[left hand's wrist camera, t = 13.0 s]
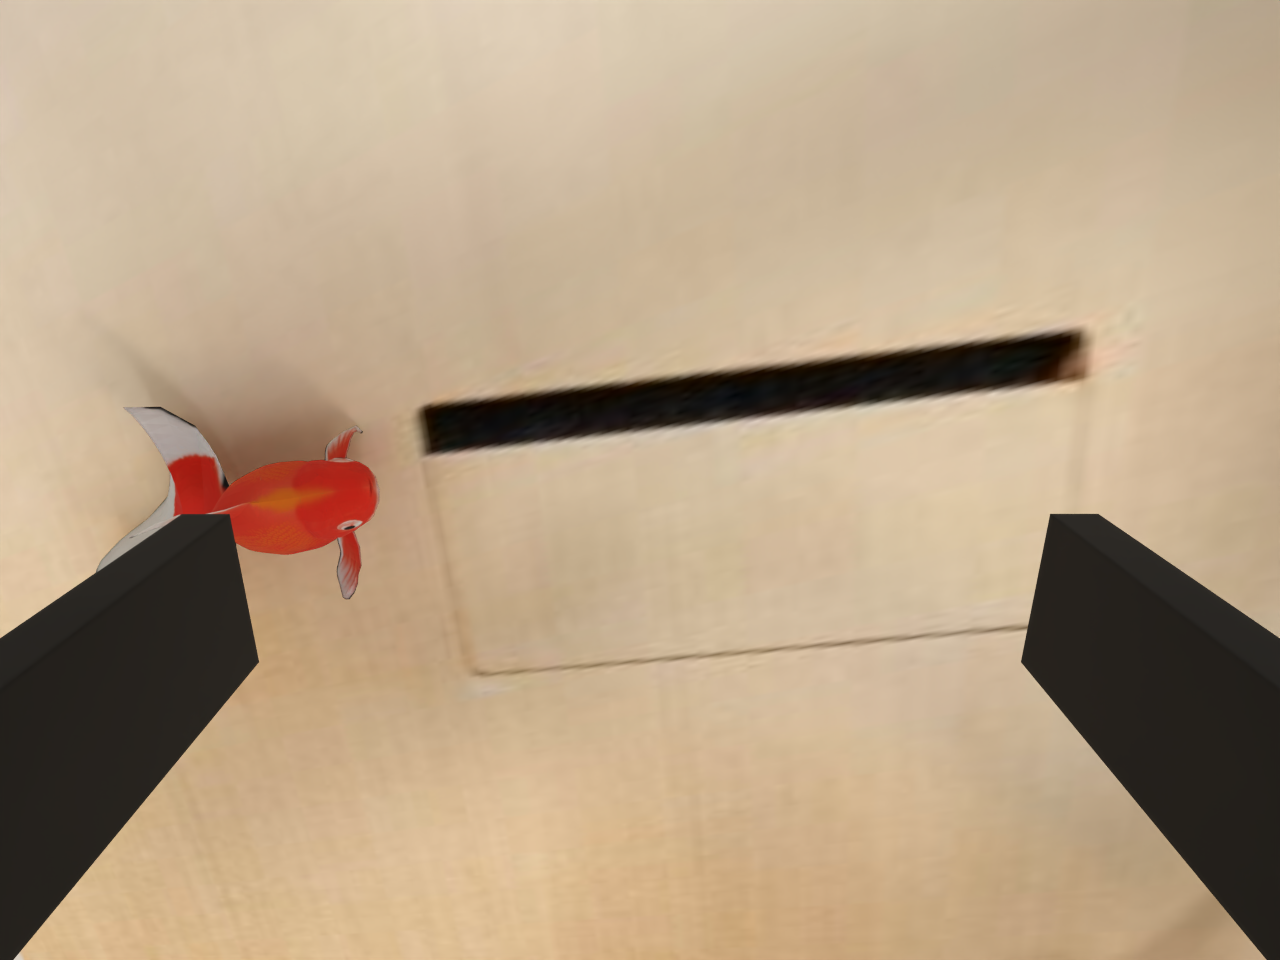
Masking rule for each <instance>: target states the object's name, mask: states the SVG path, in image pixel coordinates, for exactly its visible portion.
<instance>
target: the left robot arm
mask: <svg viewBox="0 0 1280 960" xmlns="http://www.w3.org/2000/svg"><path fill="white" fill-rule="evenodd" d="M258 663H259V660H258V655H257V650H256V645H255V640H254V635H253V629H252V624H251V619H250V614H249V609H248V604H247V599H246V594H245V589H244V584H243V579H242V574H241V569H240V564H239V559H238V554H237V549H236V543H235V538H234V533H233V528H232V523H231V518H230V514H181V515H180V516H178V517H177V518H175V519H174V520H172V521H171V522H169V523H168V524H167V525H165V526H164V527H162V528H161V529H159V530H158V531H156V532H155V533H153V534H152V535H150V536H149V537H148V538H146V539H145V540H143V541H142V542H140V543H139V544H137V545H136V546H134V547H133V548H131V549H130V550H129V551H127V552H126V553H124V554H123V555H121V556H120V557H118V558H117V559H115V560H114V561H113V562H111V563H110V564H108V565H107V566H105V567H104V568H102V569H101V570H99V571H98V572H96V573H95V574H94V575H92V576H91V577H89V578H88V579H86V580H85V581H83V582H82V583H80V584H79V585H77V586H76V587H75V588H73V589H72V590H70V591H69V592H67V593H66V594H64V595H63V596H61V597H60V598H59V599H57V600H56V601H54V602H53V603H51V604H50V605H48V606H47V607H45V608H44V609H42V610H41V611H40V612H38V613H37V614H35V615H34V616H32V617H31V618H29V619H28V620H26V621H25V622H23V623H22V624H21V625H19V626H18V627H16V628H15V629H13V630H12V631H10V632H9V633H7V634H6V635H4V636H3V637H2V638H0V960H14V958H15V957H16V956H17V955H18V953H19V952H20V951H21V950H22V949H23V947H24V946H25V945H26V944H27V943H28V941H29V940H30V939H31V938H32V937H33V935H34V934H35V933H36V932H37V930H38V929H39V928H40V927H41V926H42V924H43V923H44V922H45V921H46V920H47V918H48V917H49V916H50V915H51V913H52V912H53V911H54V910H55V909H56V907H57V906H58V905H59V904H60V903H61V901H62V900H63V899H64V898H65V897H66V895H67V894H68V893H69V892H70V890H71V889H72V888H73V887H74V886H75V884H76V883H77V882H78V881H79V880H80V878H81V877H82V876H83V875H84V873H85V872H86V871H87V870H88V869H89V867H90V866H91V865H92V864H93V863H94V861H95V860H96V859H97V858H98V857H99V855H100V854H101V853H102V852H103V850H104V849H105V848H106V847H107V846H108V844H109V843H110V842H111V841H112V840H113V838H114V837H115V836H116V835H117V833H118V832H119V831H120V830H121V829H122V827H123V826H124V825H125V824H126V823H127V821H128V820H129V819H130V818H131V817H132V815H133V814H134V813H135V812H136V810H137V809H138V808H139V807H140V806H141V804H142V803H143V802H144V801H145V800H146V798H147V797H148V796H149V795H150V793H151V792H152V791H153V790H154V789H155V787H156V786H157V785H158V784H159V783H160V781H161V780H162V779H163V778H164V777H165V775H166V774H167V773H168V772H169V770H170V769H171V768H172V767H173V766H174V764H175V763H176V762H177V761H178V760H179V758H180V757H181V756H182V755H183V753H184V752H185V751H186V750H187V749H188V747H189V746H190V745H191V744H192V743H193V741H194V740H195V739H196V738H197V737H198V735H199V734H200V733H201V732H202V730H203V729H204V728H205V727H206V726H207V724H208V723H209V722H210V721H211V720H212V718H213V717H214V716H215V715H216V713H217V712H218V711H219V710H220V709H221V707H222V706H223V705H224V704H225V703H226V701H227V700H228V699H229V698H230V696H231V695H232V694H233V693H234V692H235V690H236V689H237V688H238V687H239V686H240V684H241V683H242V682H243V681H244V680H245V678H246V677H247V676H248V675H249V673H250V672H251V671H252V670H253V669H254V667H255V666H256V665H257V664H258ZM1021 663H1022V664H1023V665H1024V666H1025V667H1026V669H1027V670H1028V671H1029V672H1030V673H1031V675H1032V676H1033V677H1034V678H1035V680H1036V681H1037V682H1038V683H1039V684H1040V686H1041V687H1042V688H1043V689H1044V690H1045V692H1046V693H1047V694H1048V695H1049V697H1050V698H1051V699H1052V700H1053V701H1054V703H1055V704H1056V705H1057V706H1058V707H1059V709H1060V710H1061V711H1062V712H1063V713H1064V715H1065V716H1066V717H1067V718H1068V720H1069V721H1070V722H1071V723H1072V724H1073V726H1074V727H1075V728H1076V729H1077V730H1078V732H1079V733H1080V734H1081V735H1082V737H1083V738H1084V739H1085V740H1086V741H1087V743H1088V744H1089V745H1090V746H1091V747H1092V749H1093V750H1094V751H1095V752H1096V753H1097V755H1098V756H1099V757H1100V758H1101V760H1102V761H1103V762H1104V763H1105V764H1106V766H1107V767H1108V768H1109V769H1110V770H1111V772H1112V773H1113V774H1114V775H1115V777H1116V778H1117V779H1118V780H1119V781H1120V783H1121V784H1122V785H1123V786H1124V787H1125V789H1126V790H1127V791H1128V792H1129V793H1130V795H1131V796H1132V797H1133V798H1134V800H1135V801H1136V802H1137V803H1138V804H1139V806H1140V807H1141V808H1142V809H1143V810H1144V812H1145V813H1146V814H1147V815H1148V817H1149V818H1150V819H1151V820H1152V821H1153V823H1154V824H1155V825H1156V826H1157V827H1158V829H1159V830H1160V831H1161V832H1162V833H1163V835H1164V836H1165V837H1166V838H1167V840H1168V841H1169V842H1170V843H1171V844H1172V846H1173V847H1174V848H1175V849H1176V850H1177V852H1178V853H1179V854H1180V855H1181V857H1182V858H1183V859H1184V860H1185V861H1186V863H1187V864H1188V865H1189V866H1190V867H1191V869H1192V870H1193V871H1194V872H1195V873H1196V875H1197V876H1198V877H1199V878H1200V880H1201V881H1202V882H1203V883H1204V884H1205V886H1206V887H1207V888H1208V889H1209V890H1210V892H1211V893H1212V894H1213V895H1214V897H1215V898H1216V899H1217V900H1218V901H1219V903H1220V904H1221V905H1222V906H1223V907H1224V909H1225V910H1226V911H1227V912H1228V913H1229V915H1230V916H1231V917H1232V918H1233V920H1234V921H1235V922H1236V923H1237V924H1238V926H1239V927H1240V928H1241V929H1242V930H1243V932H1244V933H1245V934H1246V935H1247V937H1248V938H1249V939H1250V940H1251V941H1252V943H1253V944H1254V945H1255V946H1256V947H1257V949H1258V950H1259V951H1260V952H1261V953H1262V955H1263V956H1264V957H1265V958H1266V960H1280V638H1278V637H1277V636H1275V635H1274V634H1273V633H1271V632H1270V631H1268V630H1267V629H1265V628H1264V627H1262V626H1261V625H1259V624H1258V623H1257V622H1255V621H1254V620H1252V619H1251V618H1249V617H1248V616H1246V615H1245V614H1243V613H1242V612H1240V611H1239V610H1238V609H1236V608H1235V607H1233V606H1232V605H1230V604H1229V603H1227V602H1226V601H1224V600H1223V599H1221V598H1220V597H1219V596H1217V595H1216V594H1214V593H1213V592H1211V591H1210V590H1208V589H1207V588H1205V587H1204V586H1203V585H1201V584H1200V583H1198V582H1197V581H1195V580H1194V579H1192V578H1191V577H1189V576H1188V575H1186V574H1185V573H1184V572H1182V571H1181V570H1179V569H1178V568H1176V567H1175V566H1173V565H1172V564H1170V563H1169V562H1167V561H1166V560H1165V559H1163V558H1162V557H1160V556H1159V555H1157V554H1156V553H1154V552H1153V551H1151V550H1150V549H1149V548H1147V547H1146V546H1144V545H1143V544H1141V543H1140V542H1138V541H1137V540H1135V539H1134V538H1132V537H1131V536H1130V535H1128V534H1127V533H1125V532H1124V531H1122V530H1121V529H1119V528H1118V527H1116V526H1115V525H1113V524H1112V523H1111V522H1109V521H1108V520H1106V519H1105V518H1103V517H1102V516H1100V515H1099V514H1050V518H1049V523H1048V528H1047V533H1046V538H1045V543H1044V549H1043V554H1042V559H1041V564H1040V569H1039V574H1038V579H1037V584H1036V589H1035V594H1034V599H1033V604H1032V609H1031V614H1030V619H1029V624H1028V629H1027V635H1026V640H1025V645H1024V650H1023V655H1022V660H1021Z"/></svg>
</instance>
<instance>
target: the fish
mask: <svg viewBox="0 0 1280 960" xmlns="http://www.w3.org/2000/svg"><path fill="white" fill-rule="evenodd" d="M123 408H124V409H125V410H127V411H128V412H129V413H130V414H131V415H132V416H133V417H134V418H135V419H136V420H137V421H138V422H139V424H140V425H141V426H142V427H143V429H144V430H145V431H146V432H147V434H148V435H149V437H150V438H151V439H152V441H153V442H154V444H155V445H156V447H157V448H158V450H159V452H160V453H161V455H162V457H163V459H164V461H165V462H166V464H167V467H168V469H169V471H170V487H169V493H168V497H167V498H166V499H165V500H164V501H163V503H162V504H161V505H160V506H159V507H158V508H157V509H156V510H155V511H154V513H153V514H152V515H151V516H150V517H149V518H148V519H147V520H145V521H144V522H143V523H141V524H140V525H139V526H137V527H136V528H135V529H133V530H132V531H131V532H130V533H128V534H127V535H126V536H125V537H124V538H122V539H121V540H120V541H119V542H118V543H117V544H116V545H115V546H114V547H113V548H112V549H111V550H110V551H109V552H108V554H107V555H106V556H105V557H104V558H103V559H102V560H101V562H100V564H99V566H98V568H97V570H96V572H98V571H99V570H101V569H102V568H104V567H105V566H107V565H108V564H110V563H111V562H113V561H114V560H115V559H117V558H118V557H120V556H121V555H123V554H124V553H126V552H127V551H129V550H130V549H131V548H133V547H134V546H136V545H137V544H139V543H140V542H142V541H143V540H145V539H146V538H148V537H149V536H150V535H152V534H153V533H155V532H156V531H158V530H159V529H161V528H162V527H164V526H165V525H167V524H168V523H169V522H171V521H172V520H174V519H175V518H177V517H178V516H180V515H181V514H230V518H231V523H232V528H233V533H234V538H235V543H237V544H239V545H241V546H243V547H245V548H247V549H249V550H253V551H257V552H264V553H273V554H285V555H288V554H295V553H299V552H303V551H308V550H312V549H316V548H320V547H323V546H325V545H327V544H328V543H330V542H332V541H333V540H335V539H338V544H339V547H340V551H341V552H340V558H339V562H338V566H337V577H338V580H339V584H340V588H341V591H342V595H343V598H345V599H350V598H351V596H352V595H353V594H354V592H355V590H356V587H357V584H358V574H359V571H360V568H361V555H360V546H359V544H358V541H357V538H356V535H355V533H354V531H355V530H356V529H357V528H359V527H360V526H362V525H363V524H365V523H366V522H368V521H369V520H370V519H371V518H372V517H373V516H374V513H375V511H376V508H377V506H378V503H379V493H380V489H379V486H378V483H377V479H376V477H375V476H374V474H373V473H372V472H371V470H370V469H369V468H368V467H367V466H365V465H363V464H362V463H360V462H357V461H353V460H351V459H348V458H346V456H347V451H348V448H349V445H350V441H351V437H352V435H353V433H354V432H356V431H358V432H360V433H362V432H363V431H362V430H361V429H360V428H358V427H357V426H354V427H352V428H350V429H347V430H345V431H343V432H341V433H340V434H339V435H338V436H336V437H335V438H334V439H333V440H331V441H330V443H329V444H328V445H327V446H326V450H325V460H315V461H309V462H307V461H290V462H279V463H274V464H269V465H266V466H263V467H260V468H258V469H256V470H254V471H252V472H250V473H248V474H246V475H245V476H243V477H241V478H239V479H238V480H236V481H235V482H233V483H232V484H231V485H230V486H229V485H228V482H227V480H226V477H225V475H224V472H223V470H222V468H221V465H220V463H219V461H218V458H217V456H216V454H215V453H214V451H213V450H212V448H211V447H210V445H209V444H208V442H207V441H206V440H205V438H204V437H203V436H202V434H201V433H200V432H199V430H198V429H197V428H196V427H195V426H194V425H193V424H191V423H189V422H187V421H185V420H183V419H182V418H180V417H178V416H176V415H174V414H172V413H171V412H169V411H167V410H165V409H163V408H161V407H123Z"/></svg>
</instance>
